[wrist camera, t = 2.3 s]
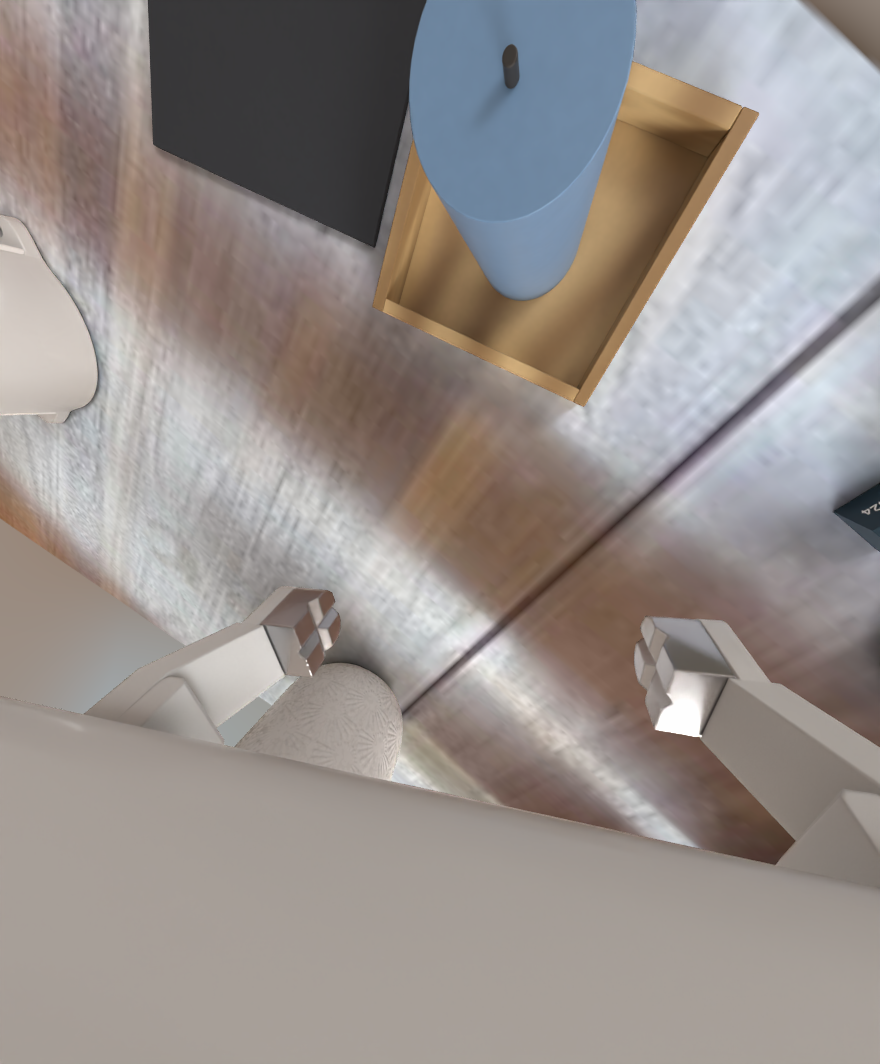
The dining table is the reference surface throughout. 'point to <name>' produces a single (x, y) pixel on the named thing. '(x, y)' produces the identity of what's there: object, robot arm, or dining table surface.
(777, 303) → the dining table surface
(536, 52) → the candle
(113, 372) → the dining table surface
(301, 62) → the placemat
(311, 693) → the planter
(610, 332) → the wooden tray
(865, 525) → the watch
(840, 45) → the dining table surface
